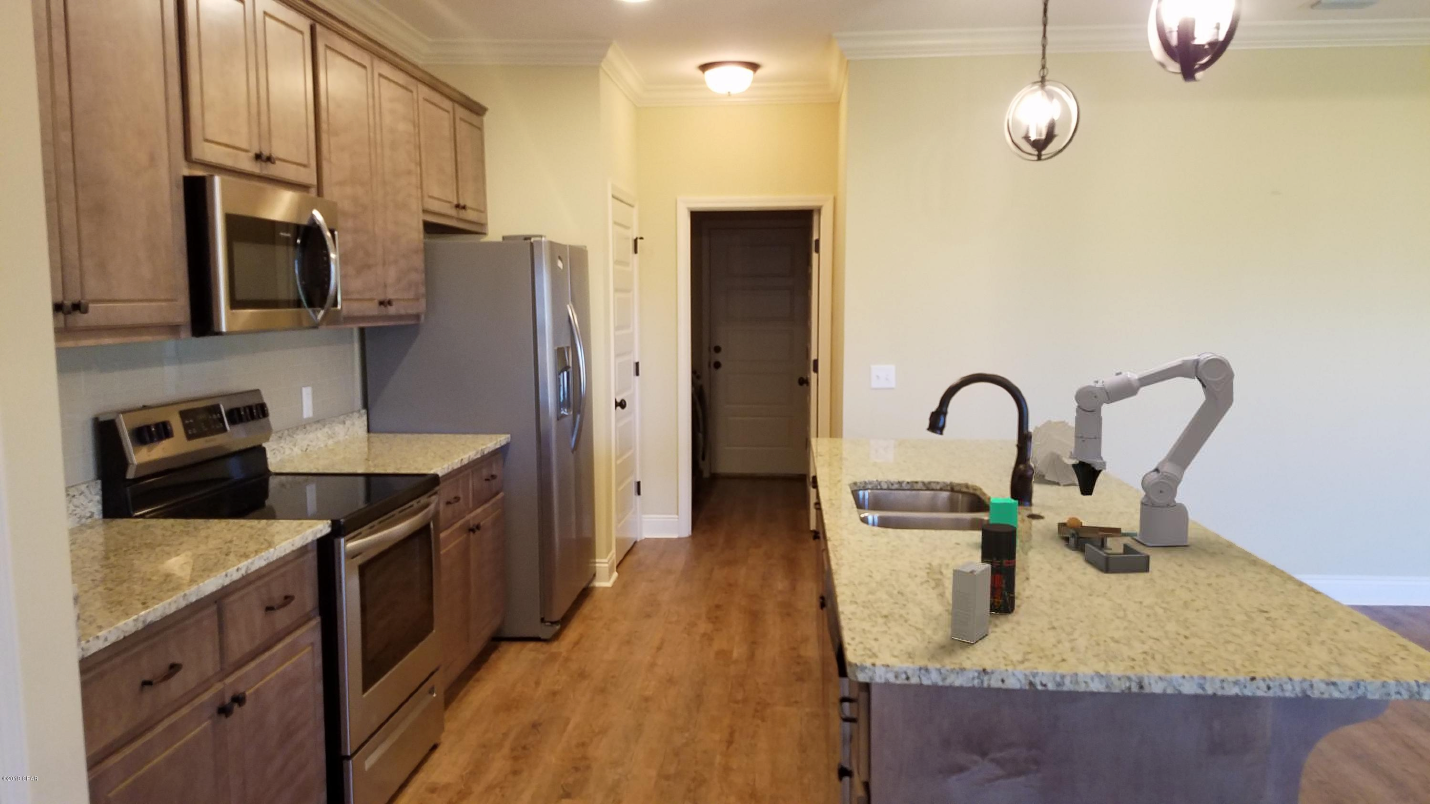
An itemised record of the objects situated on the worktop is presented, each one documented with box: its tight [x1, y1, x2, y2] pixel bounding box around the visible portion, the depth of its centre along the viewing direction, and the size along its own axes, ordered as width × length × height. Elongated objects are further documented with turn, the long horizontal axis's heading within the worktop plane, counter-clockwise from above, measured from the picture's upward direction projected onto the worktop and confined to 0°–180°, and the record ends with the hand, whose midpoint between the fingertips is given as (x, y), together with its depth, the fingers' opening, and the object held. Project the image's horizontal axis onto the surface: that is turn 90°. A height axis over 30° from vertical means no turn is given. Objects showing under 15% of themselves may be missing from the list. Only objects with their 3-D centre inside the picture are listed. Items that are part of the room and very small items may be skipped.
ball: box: [1066, 516, 1082, 527], centre depth 207 cm, size 3×3×3 cm
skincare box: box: [950, 560, 991, 644], centre depth 148 cm, size 6×4×12 cm
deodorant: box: [980, 522, 1018, 614], centre depth 161 cm, size 6×6×15 cm
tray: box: [1084, 542, 1151, 573], centre depth 186 cm, size 9×10×3 cm
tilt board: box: [1057, 521, 1139, 539], centre depth 200 cm, size 10×20×3 cm, turn 2°
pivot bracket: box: [1064, 530, 1113, 552], centre depth 200 cm, size 9×4×4 cm, turn 92°
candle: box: [989, 497, 1019, 548], centre depth 202 cm, size 6×6×12 cm
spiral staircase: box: [1030, 419, 1079, 487], centre depth 271 cm, size 18×18×25 cm
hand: (1086, 495), depth 207 cm, fingers closed
